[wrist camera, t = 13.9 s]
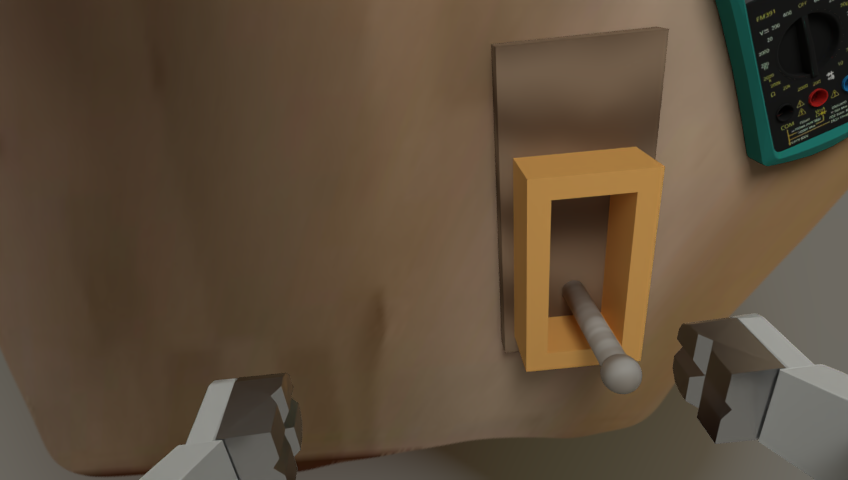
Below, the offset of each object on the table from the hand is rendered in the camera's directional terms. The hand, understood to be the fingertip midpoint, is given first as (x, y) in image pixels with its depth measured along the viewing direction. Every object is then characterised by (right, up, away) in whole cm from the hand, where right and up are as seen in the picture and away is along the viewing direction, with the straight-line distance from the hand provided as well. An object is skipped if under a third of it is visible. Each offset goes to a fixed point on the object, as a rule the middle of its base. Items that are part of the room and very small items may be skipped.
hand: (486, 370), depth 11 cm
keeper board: (+9, +5, +26) cm, 27 cm away
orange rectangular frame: (+9, +2, +25) cm, 27 cm away
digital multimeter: (+21, +16, +22) cm, 34 cm away
